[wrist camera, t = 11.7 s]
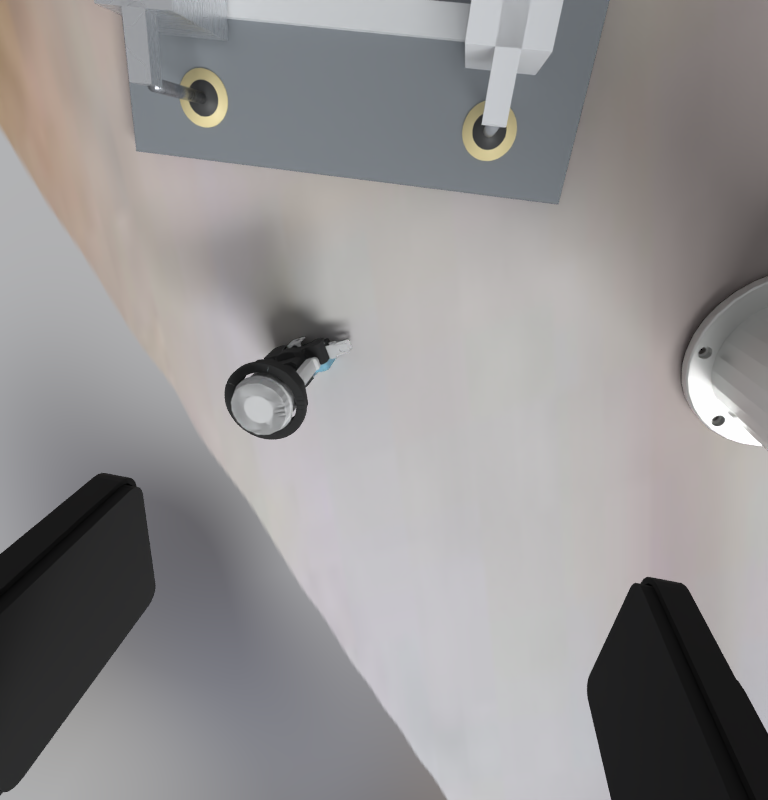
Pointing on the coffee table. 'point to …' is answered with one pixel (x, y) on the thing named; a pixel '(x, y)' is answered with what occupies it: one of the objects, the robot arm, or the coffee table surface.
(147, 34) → the sliding block
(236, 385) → the push button
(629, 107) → the coffee table surface
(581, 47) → the plate
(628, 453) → the coffee table surface
